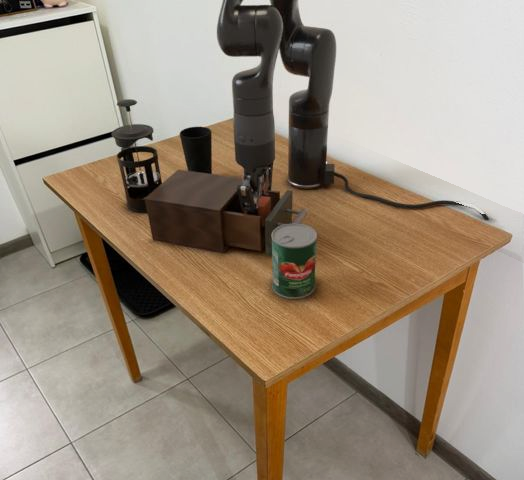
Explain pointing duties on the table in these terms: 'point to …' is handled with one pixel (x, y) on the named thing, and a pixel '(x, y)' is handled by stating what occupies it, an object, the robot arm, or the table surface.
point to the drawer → (258, 222)
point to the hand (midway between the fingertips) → (257, 219)
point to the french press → (136, 180)
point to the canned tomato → (293, 260)
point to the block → (263, 208)
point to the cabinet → (191, 209)
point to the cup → (197, 149)
